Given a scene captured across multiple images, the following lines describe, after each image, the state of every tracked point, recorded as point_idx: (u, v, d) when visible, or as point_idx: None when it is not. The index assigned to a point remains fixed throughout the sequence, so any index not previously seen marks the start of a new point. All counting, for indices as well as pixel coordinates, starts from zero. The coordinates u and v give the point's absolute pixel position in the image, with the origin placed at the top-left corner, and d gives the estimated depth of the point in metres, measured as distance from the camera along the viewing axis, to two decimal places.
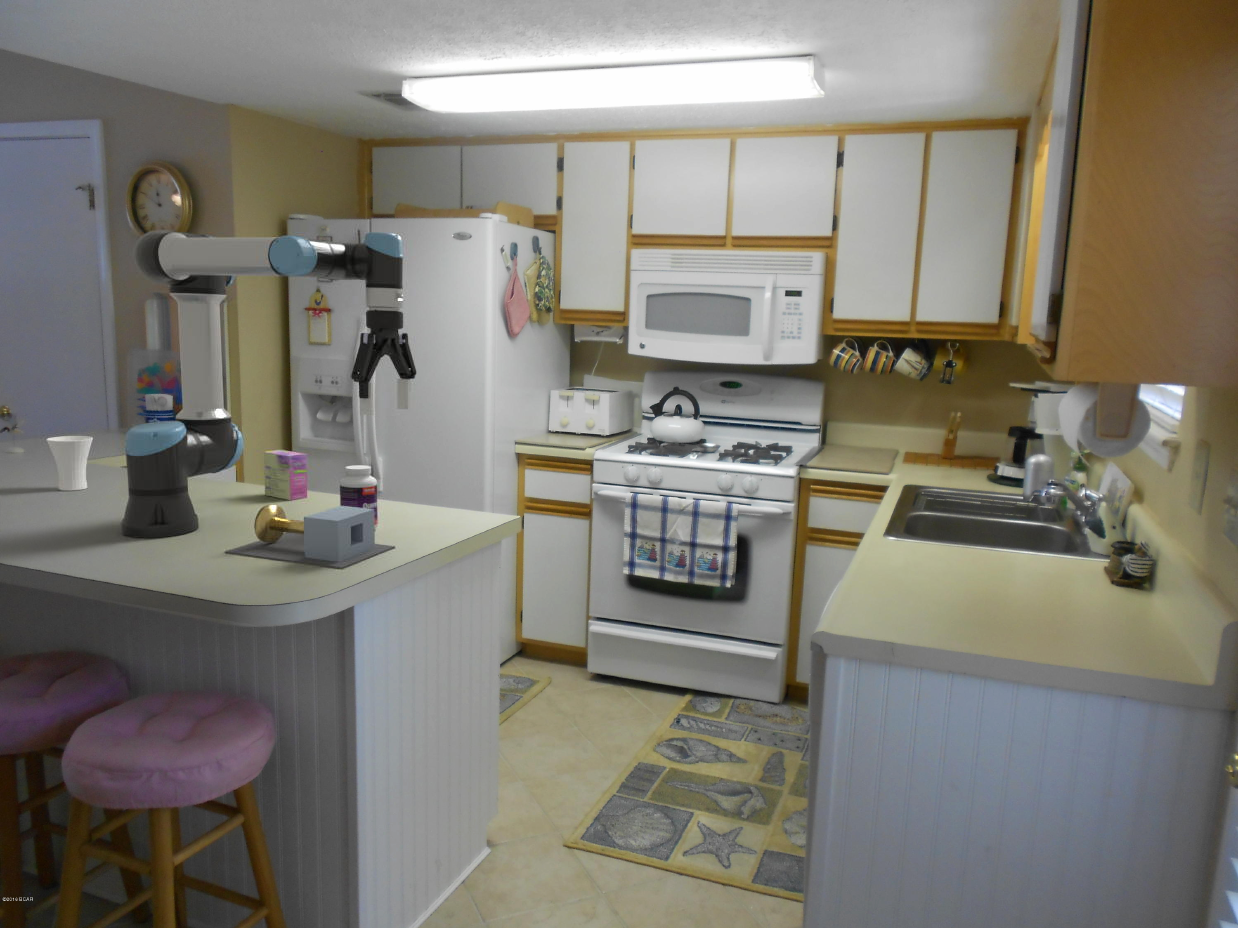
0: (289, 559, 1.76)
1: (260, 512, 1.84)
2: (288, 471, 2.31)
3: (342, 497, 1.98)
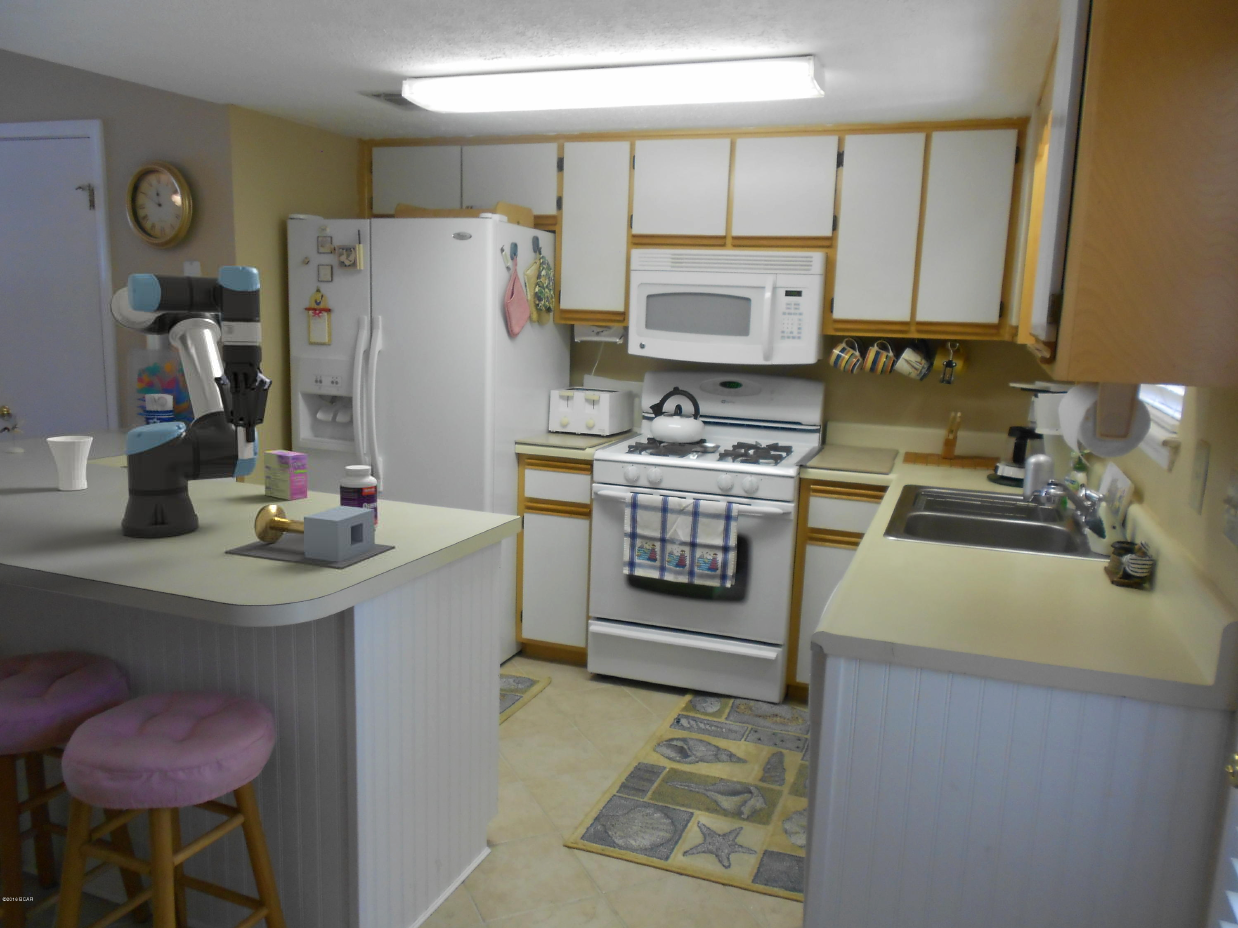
0: (289, 559, 1.76)
1: (260, 512, 1.84)
2: (288, 471, 2.31)
3: (342, 497, 1.98)
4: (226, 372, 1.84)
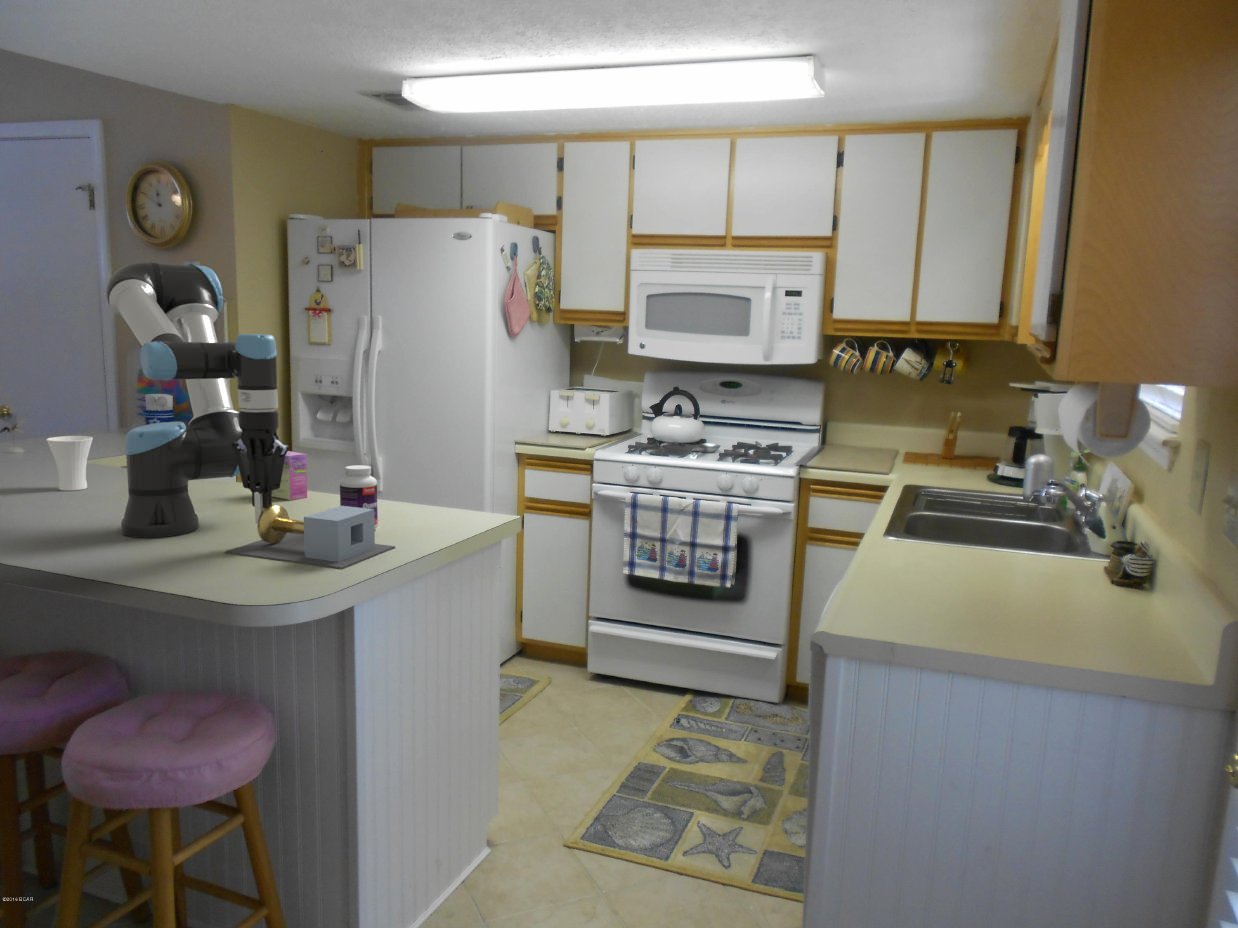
0: (289, 559, 1.76)
1: (263, 512, 1.84)
2: (288, 471, 2.31)
3: (342, 497, 1.98)
4: (243, 438, 1.85)
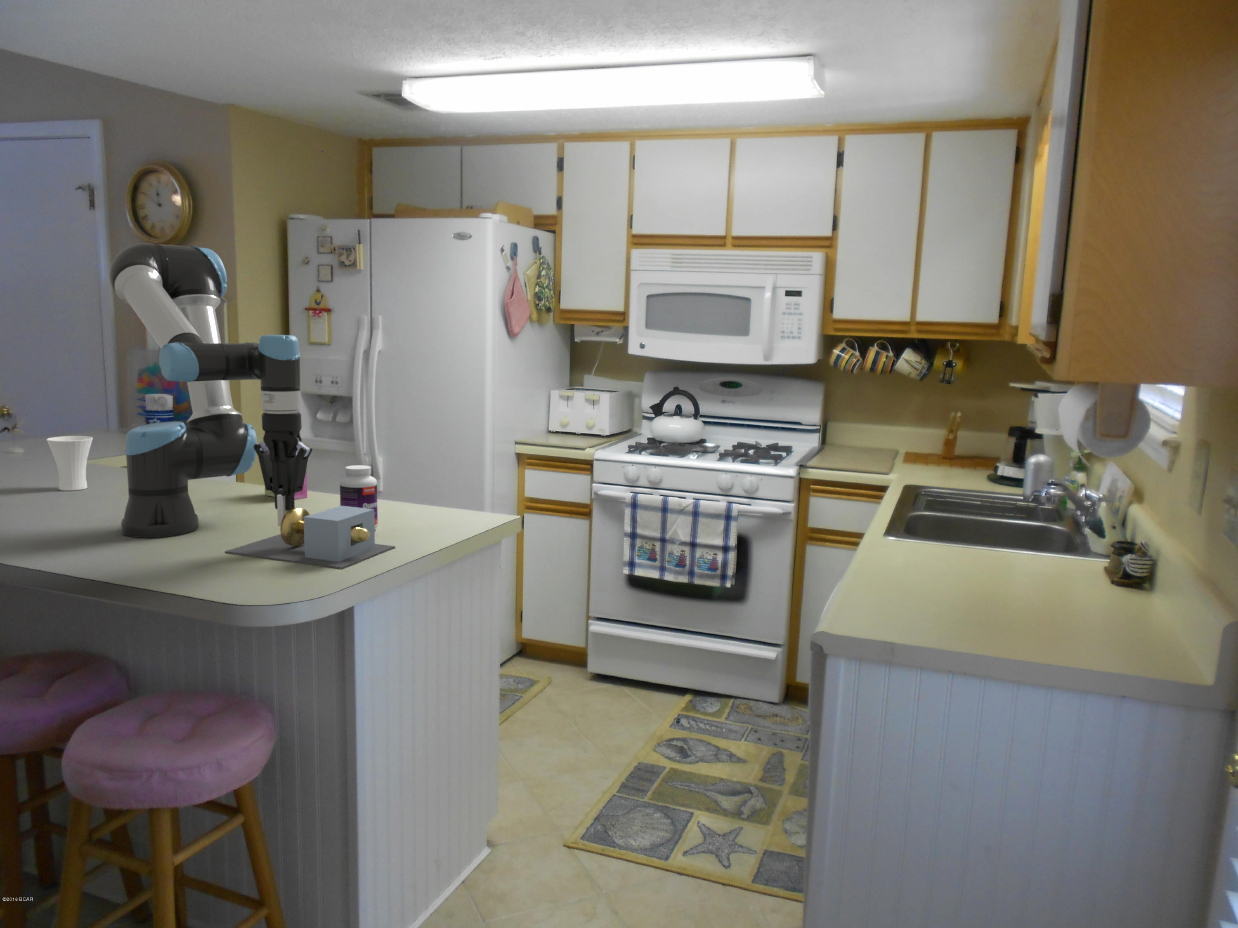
0: (289, 559, 1.76)
1: (286, 515, 1.82)
2: None
3: (342, 497, 1.98)
4: (266, 440, 1.83)
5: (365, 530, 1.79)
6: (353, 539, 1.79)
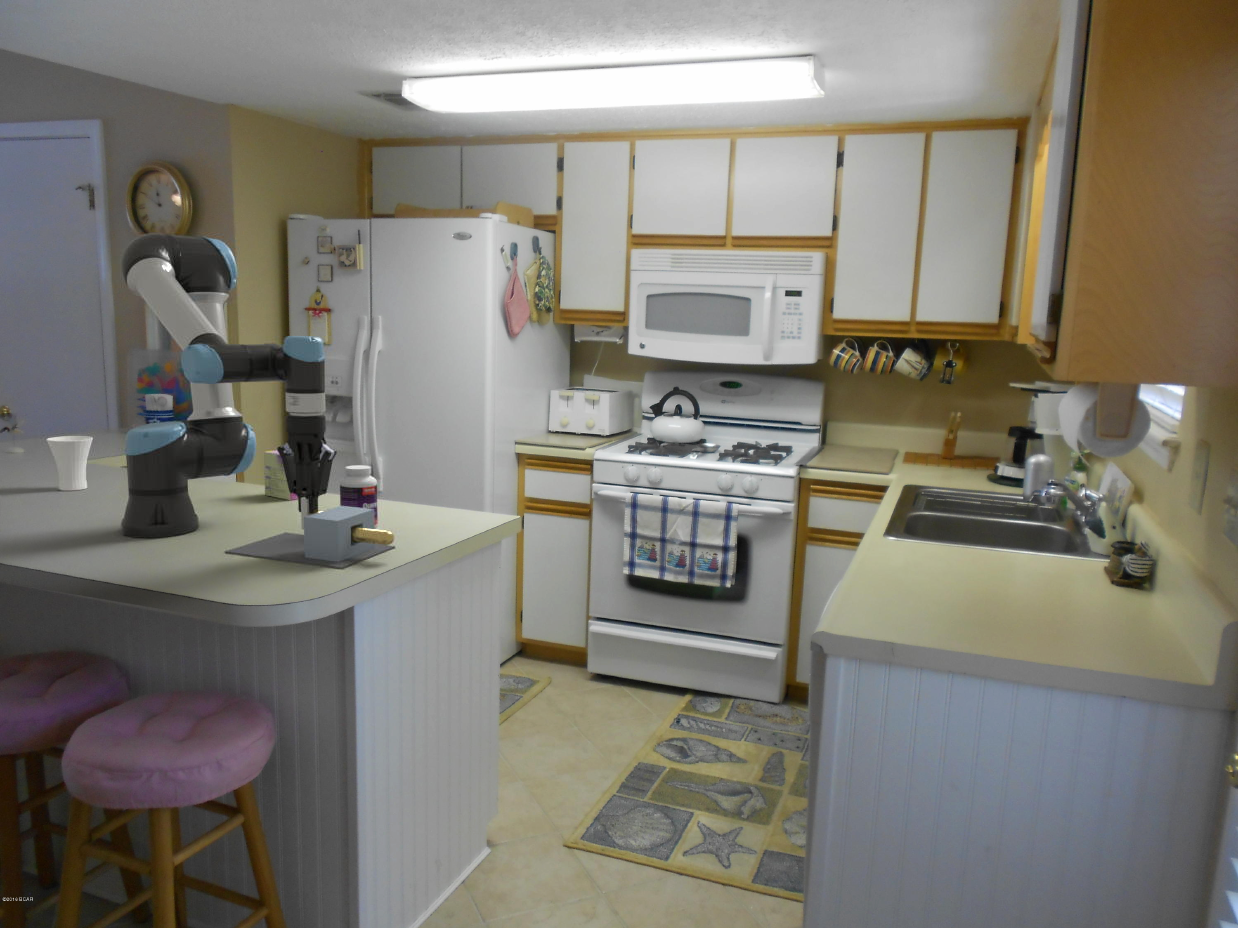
0: (289, 559, 1.76)
1: None
2: None
3: (342, 497, 1.98)
4: (290, 442, 1.81)
5: (390, 533, 1.77)
6: (378, 542, 1.77)
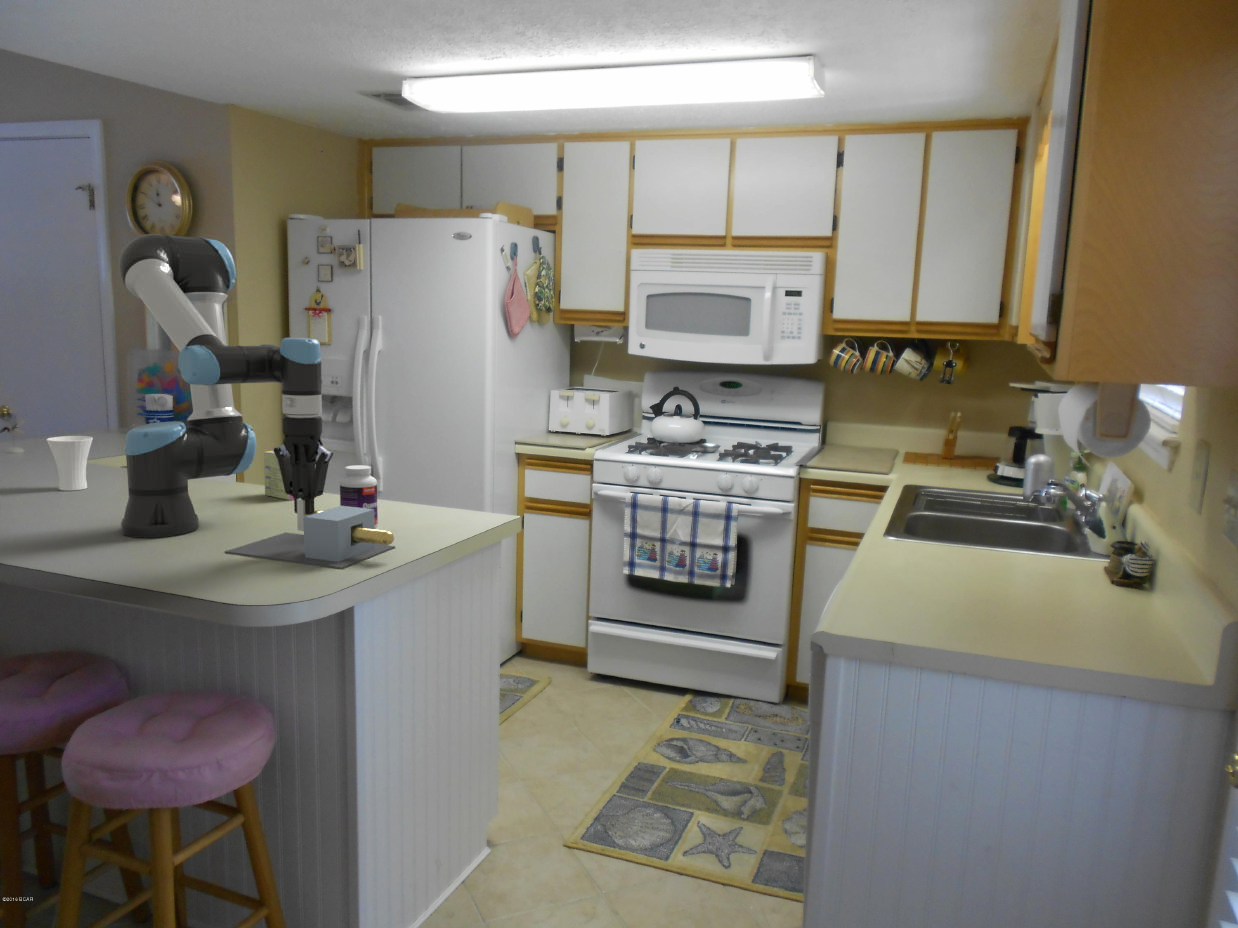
0: (289, 559, 1.76)
1: None
2: None
3: (342, 497, 1.98)
4: (286, 443, 1.81)
5: (390, 533, 1.77)
6: (378, 542, 1.77)
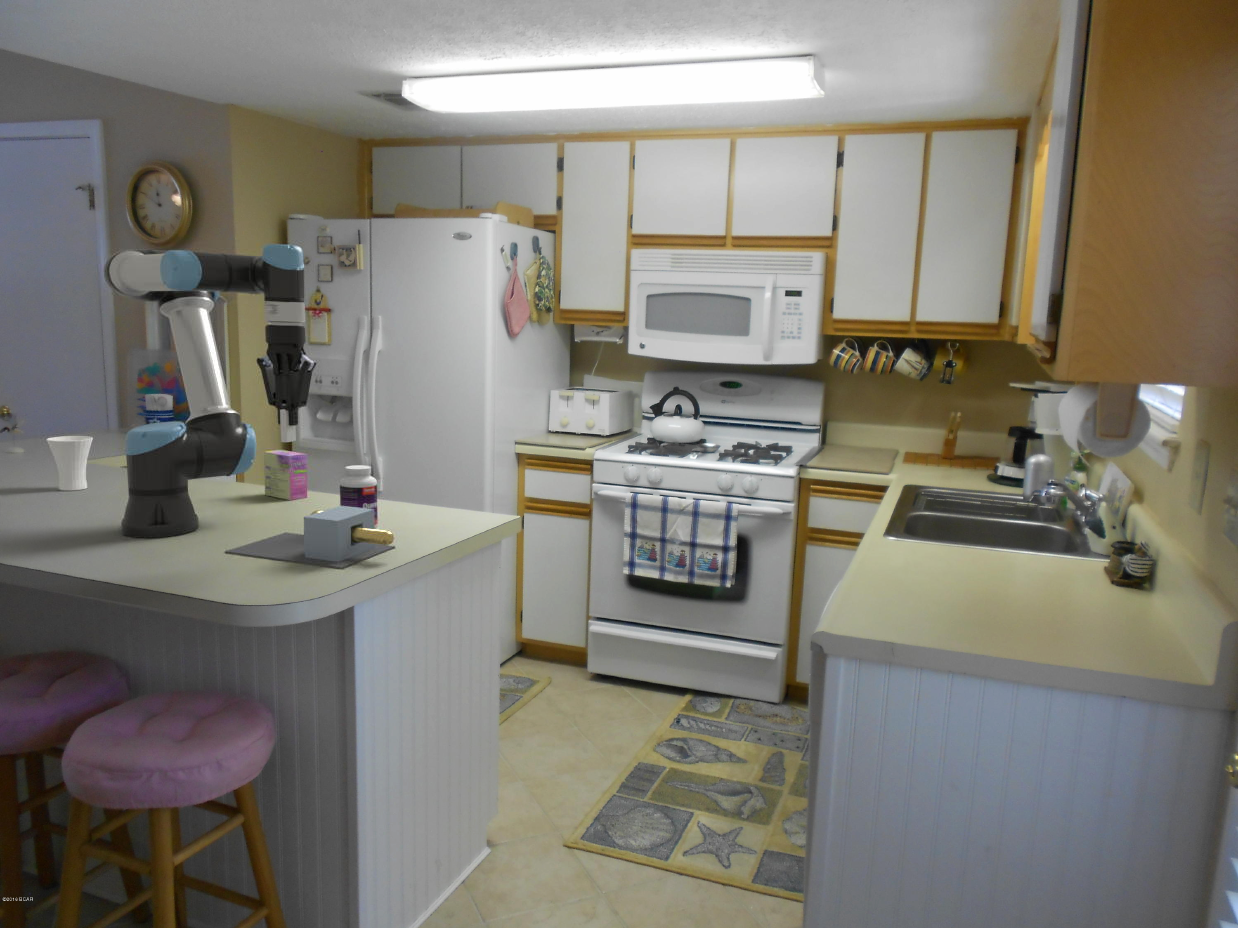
0: (289, 559, 1.76)
1: None
2: (288, 471, 2.31)
3: (342, 497, 1.98)
4: (269, 353, 1.80)
5: (390, 533, 1.77)
6: (378, 542, 1.77)
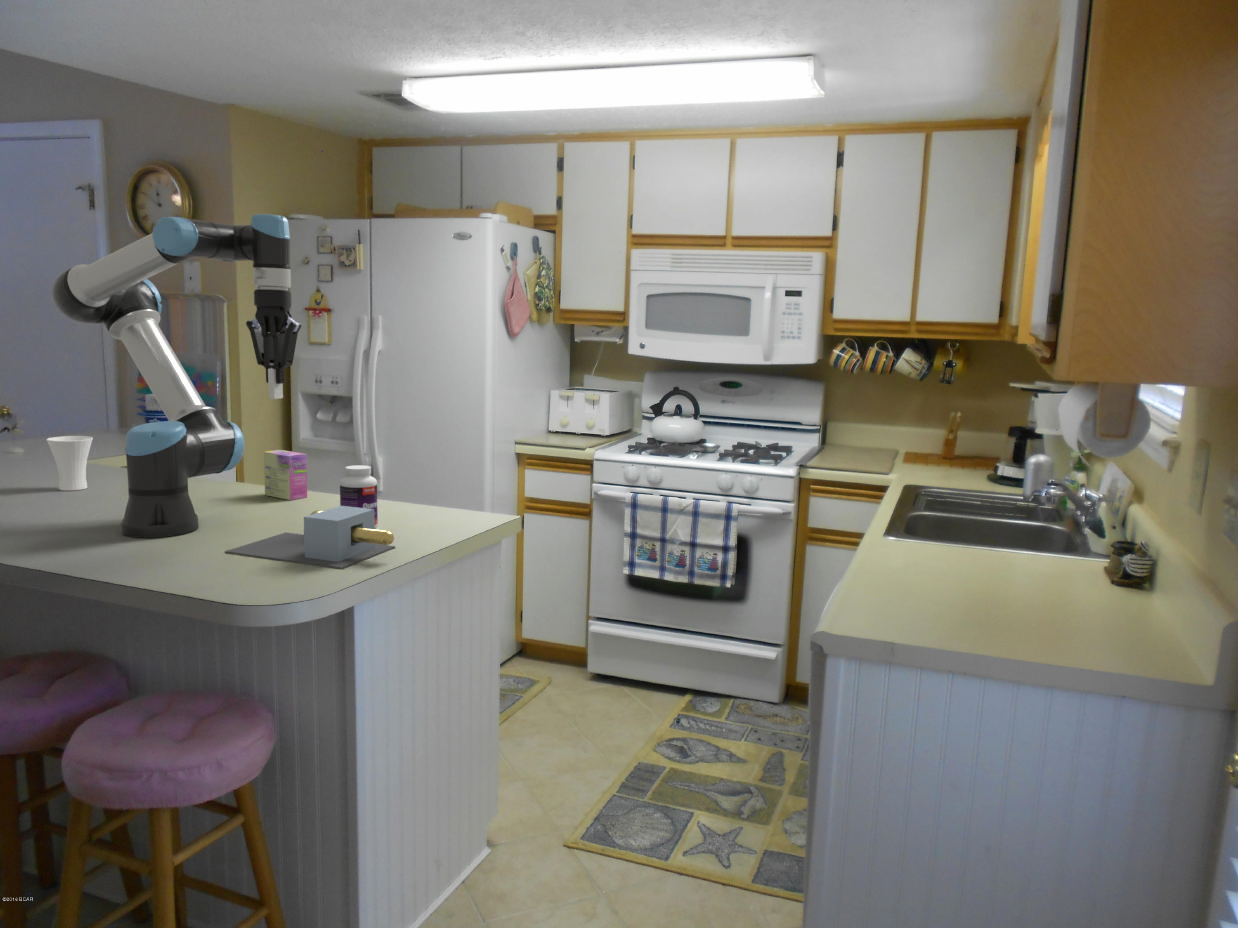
0: (289, 559, 1.76)
1: None
2: (288, 471, 2.31)
3: (342, 497, 1.98)
4: (257, 316, 1.94)
5: (390, 533, 1.77)
6: (378, 542, 1.77)
